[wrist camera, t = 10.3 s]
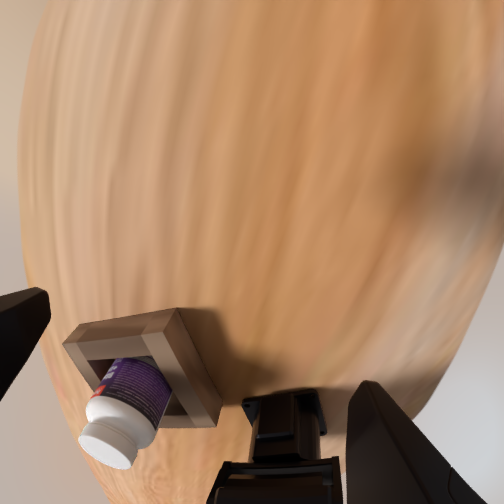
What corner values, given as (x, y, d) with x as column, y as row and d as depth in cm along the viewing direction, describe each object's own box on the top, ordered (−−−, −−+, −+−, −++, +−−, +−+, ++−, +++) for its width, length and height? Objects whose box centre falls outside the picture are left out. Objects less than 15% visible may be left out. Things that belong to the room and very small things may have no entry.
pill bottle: (122, 331, 24) (63, 416, 15) (184, 354, 24) (142, 453, 15) (120, 374, 26) (74, 453, 17) (175, 395, 26) (141, 483, 17)
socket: (222, 401, 26) (216, 427, 23) (131, 404, 28) (120, 426, 25) (176, 307, 22) (162, 331, 19) (79, 324, 24) (61, 344, 21)
